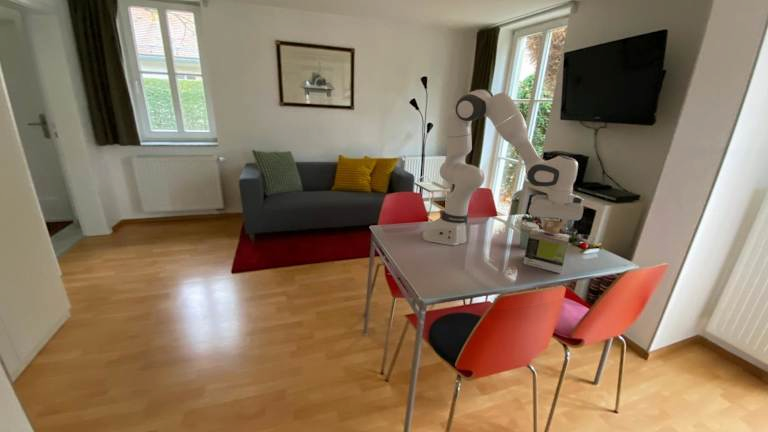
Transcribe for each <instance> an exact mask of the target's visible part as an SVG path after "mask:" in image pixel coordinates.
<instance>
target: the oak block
mask: <svg viewBox="0 0 768 432" xmlns="http://www.w3.org/2000/svg"><path fill="white" fill-rule="evenodd" d="M543 220H544V219H543ZM544 222H545V223H546V224H547V225H546V227H542V228H541V230H544V231H545V232H546V233H551V234H559V233H560V231H561V229H560V227H561V221H560V219H559V220H558V219H557V218H546V217H545V220H544Z"/></svg>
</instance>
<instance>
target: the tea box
mask: <svg viewBox="0 0 768 432" xmlns="http://www.w3.org/2000/svg"><path fill="white" fill-rule="evenodd" d="M569 239H570V234H566V233H561V232H559V234H551V233H546V232H545V231H544V230H543V229H542V228H539V229H536V228H532V230H531V232H530V233H529V237H528V242H527V247H526V249H525V253H524V258H523V264H524V265H527V266H530V267H534V268H539V269H543V270H546V271H550V272H553V273H558V274H561V273H562V270H563V266H564V261H565V258H566V254H567V249H568V245H569Z"/></svg>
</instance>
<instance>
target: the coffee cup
mask: <svg viewBox="0 0 768 432" xmlns="http://www.w3.org/2000/svg"><path fill="white" fill-rule="evenodd" d="M532 228H536V229H540V227H539V224H537V223H535V222H532V221H531V222H530V221H523V222H522V223H521V224H520V236H519V247H520V248H522V249H525V250H526V247H527V242H528V237H529V233H530V232H531V230H532Z"/></svg>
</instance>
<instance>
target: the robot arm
mask: <svg viewBox="0 0 768 432" xmlns="http://www.w3.org/2000/svg"><path fill="white" fill-rule="evenodd" d="M446 117H447V118H446V157H445V160H444V162H442V164H441V166H440V168H439V175H440V177H441V179H443V180H444V181H446V183H450V184H452V185H454V189H453V191H452V192H450V193H449V194H448V195H447V196H446V199H445V207H444V210H443V209H440V210H439V214H440V215H439V217H438V218H436V219H434V221H433V220H432V221H431V222H430V223H429V224H428V226H427V229H426V230H424V231H422V235H421V236H422V239H423V240H424V241H425V242H431V243H437V244H442V245H446V246H447V245H448V246H454V247H455V246H458V245H461V244H465V243H467V240H468V239H467V233H466V232H467V224H468V218H469V214H468V210H469V205H470V201H471V198H472V196H473V193H474V192H475V191H476V190H478V189H479V188H481V186H483V183H484V182H485V173H484V171H483V170H482V169H481V168H479V167H477V166H475V165H472V164H470V163H469V164H468V163H466V158H467V156H468V154H470V153H471V151H472V149H473V146H472V145H473V144H472V142H473V141H472V140H473V139H472V122H474V121H476V120H479V119H483V118H484V117H486V118H488V119H489V120H490V121H491V123H492V125H493V127H494V128H495V130H496V131H497V133H498V134H499V136H500V137H501V138H502V139H503V140H504V141H506V142H507V143H509V144H511V145H512V146H513V147H514V149H516V151H517V153H518V154H519V156H520V158H521V159H522V161H523V163H524V166H525V168H524V169H525V175H526V178H527V181H528V183H529V184H531V185H532V186H534V187H535V186H536V187H548V189H547V193H546V194H540V193H539V194H537V193H536V194H535V195H532V197H531V198H530V199H531V200H530V205H529V208H528V214H529V215H530V216H531V217H535V218H536V217H537V218H539V219H540V222H541V223H540V226H541V227H542V228H543V227H546V225H547V224H546V223H545V222H544V220H545V218H550V219H557V220H558V219H559V220H561V221H560V222H561V227H560V230H562V229H563V226H564V225H565V224H566V223H568V220H569V221H570V220H573V221H579V220H581V219H582V218H583V214H584V205H583V204H584V201H585V199H584V198H582V197H581V196H579V195H577V194H576V193H574V192H573V191H574V184H575V182H576V180H577V176H578V171H579V170H578V169H579V163H578V161H577V160H576V159H575V158H573V157H571V156H567V155H562V154H561V155H557V156H555V157H553V158H551V159H548V160H545V159H544V158H542V157H541V156H540V155H539V154H538V152H537V150H536V148H535V147H534V145H533V143H532V141H531V140H530V138H529V134H528V125H527V122H526V120H525V118H524V116H523V113H522V112H521V110H520V108H519V107H518V105H517V104H516V103H515V101H514V100H513V99H512V98H511V96H509V94H507V93H505V92H499V93H496V94H493V93H492V91H490V90H488V89H486V88H480V89H475V90H473V91H472V90H471V91H470V92H468V93H467V94H464V95H463V96H461V97H460V98H459V99H458V101H457V102H456V105H455V108H454V109H452V110H450V111H449V112H448V113H447V116H446Z"/></svg>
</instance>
